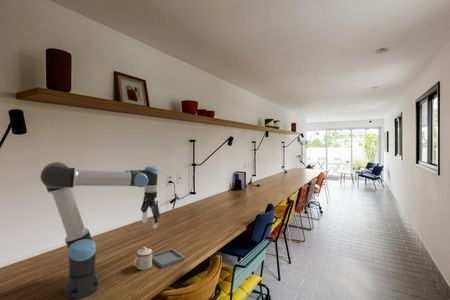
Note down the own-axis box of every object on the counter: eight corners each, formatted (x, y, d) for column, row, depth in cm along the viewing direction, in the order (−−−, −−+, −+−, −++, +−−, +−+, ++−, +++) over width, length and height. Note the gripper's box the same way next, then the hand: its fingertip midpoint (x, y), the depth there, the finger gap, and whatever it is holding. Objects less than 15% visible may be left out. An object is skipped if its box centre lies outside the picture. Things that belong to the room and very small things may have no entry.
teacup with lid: (145, 261, 155) (145, 243, 155) (155, 265, 150) (155, 246, 150) (128, 269, 145) (129, 249, 144) (139, 274, 140) (139, 254, 140)
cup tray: (161, 268, 147) (161, 264, 147) (149, 258, 159) (149, 255, 159) (185, 259, 158) (185, 256, 158) (172, 251, 170) (172, 248, 170)
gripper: (166, 194, 148) (165, 229, 149) (146, 187, 166) (145, 219, 167) (155, 195, 143) (153, 232, 143) (136, 188, 161) (135, 221, 161)
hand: (149, 225), depth 155 cm, fingers open, 13 cm apart
